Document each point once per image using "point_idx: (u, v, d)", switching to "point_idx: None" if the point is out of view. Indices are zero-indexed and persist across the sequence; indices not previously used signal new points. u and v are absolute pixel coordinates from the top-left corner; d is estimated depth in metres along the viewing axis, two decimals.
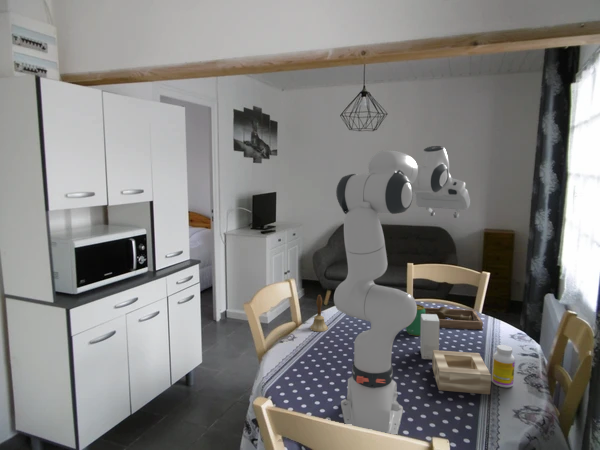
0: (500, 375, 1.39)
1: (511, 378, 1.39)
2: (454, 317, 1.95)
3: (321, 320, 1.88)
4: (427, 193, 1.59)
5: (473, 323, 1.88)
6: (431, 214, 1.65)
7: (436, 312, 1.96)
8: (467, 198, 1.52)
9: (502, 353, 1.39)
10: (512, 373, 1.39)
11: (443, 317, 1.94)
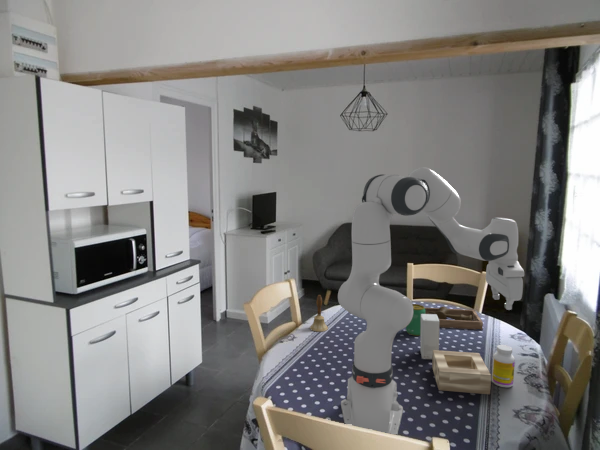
0: (500, 375, 1.39)
1: (511, 378, 1.39)
2: (455, 317, 1.95)
3: (321, 320, 1.88)
4: None
5: (473, 323, 1.88)
6: (493, 296, 1.47)
7: (437, 312, 1.96)
8: (514, 288, 1.31)
9: (502, 353, 1.39)
10: (512, 373, 1.39)
11: (444, 317, 1.94)
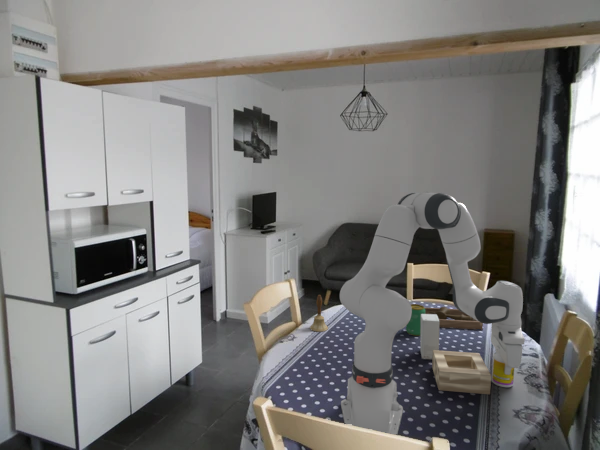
0: (500, 375, 1.39)
1: (511, 378, 1.39)
2: (455, 317, 1.95)
3: (321, 320, 1.88)
4: None
5: (473, 323, 1.88)
6: None
7: (437, 312, 1.96)
8: (512, 355, 1.30)
9: None
10: (512, 373, 1.39)
11: (444, 317, 1.94)
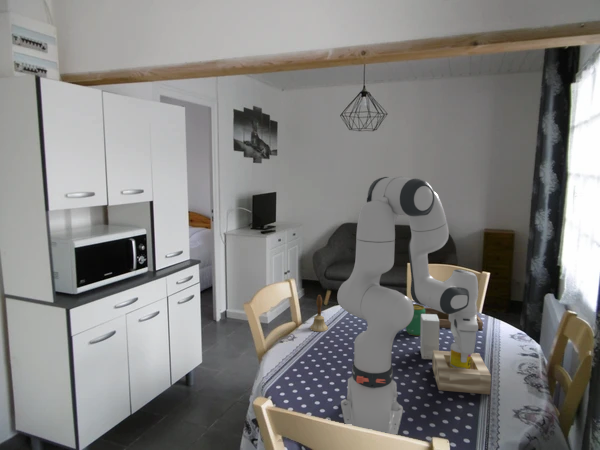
0: (457, 364, 1.41)
1: (467, 368, 1.40)
2: None
3: (321, 320, 1.88)
4: None
5: None
6: None
7: (440, 313, 1.95)
8: (466, 342, 1.32)
9: None
10: (468, 363, 1.40)
11: (447, 317, 1.94)
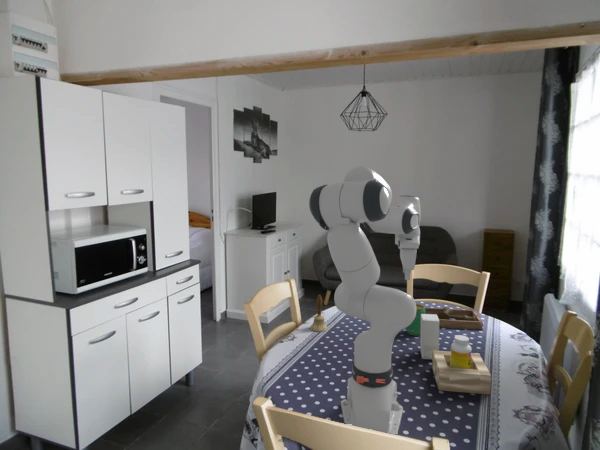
0: (457, 364, 1.41)
1: (467, 368, 1.41)
2: (458, 318, 1.94)
3: (321, 320, 1.88)
4: None
5: (473, 323, 1.88)
6: (403, 270, 1.59)
7: (440, 313, 1.95)
8: (407, 258, 1.44)
9: (459, 343, 1.41)
10: (468, 363, 1.41)
11: (448, 318, 1.93)
